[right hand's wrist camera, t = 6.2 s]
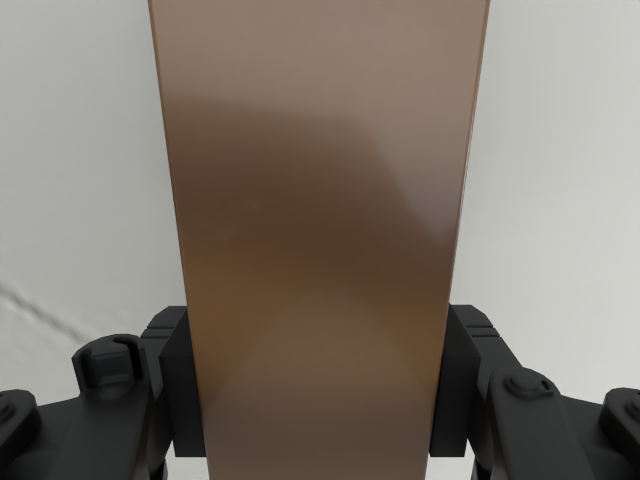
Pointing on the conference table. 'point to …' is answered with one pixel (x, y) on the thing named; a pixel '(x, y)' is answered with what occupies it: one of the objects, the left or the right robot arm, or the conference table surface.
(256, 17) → the post
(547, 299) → the conference table surface
